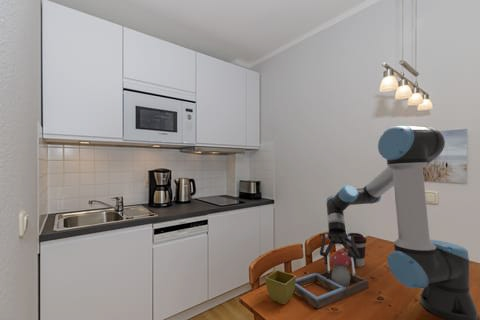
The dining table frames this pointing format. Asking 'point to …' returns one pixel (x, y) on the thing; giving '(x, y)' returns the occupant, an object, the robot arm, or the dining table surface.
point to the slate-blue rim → (323, 294)
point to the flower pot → (280, 286)
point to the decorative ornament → (341, 268)
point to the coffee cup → (358, 247)
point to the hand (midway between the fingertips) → (341, 273)
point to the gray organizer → (331, 288)
